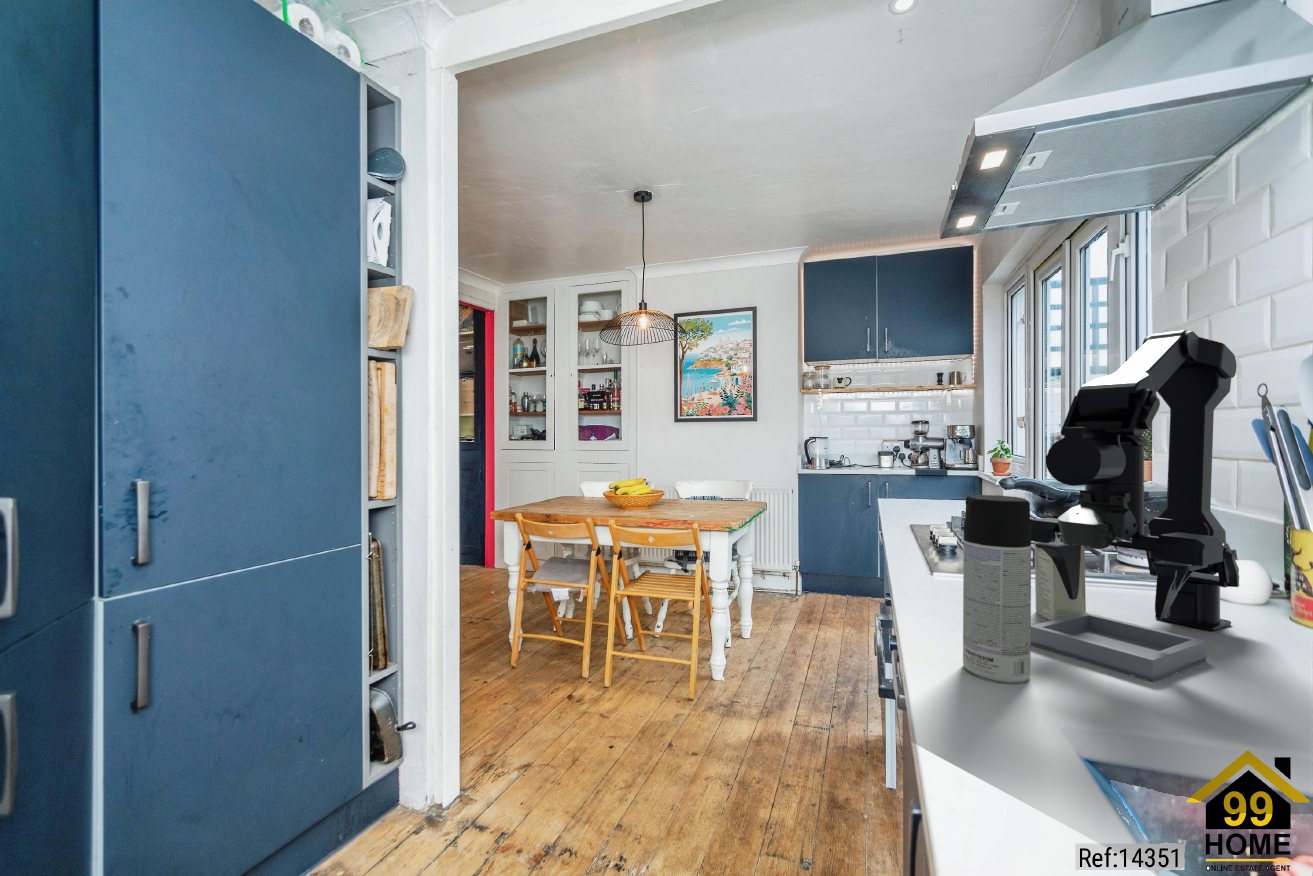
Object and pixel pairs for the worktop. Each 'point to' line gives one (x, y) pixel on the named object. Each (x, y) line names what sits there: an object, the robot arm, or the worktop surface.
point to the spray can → (997, 588)
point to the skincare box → (1056, 588)
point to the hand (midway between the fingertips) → (1114, 608)
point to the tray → (1119, 645)
